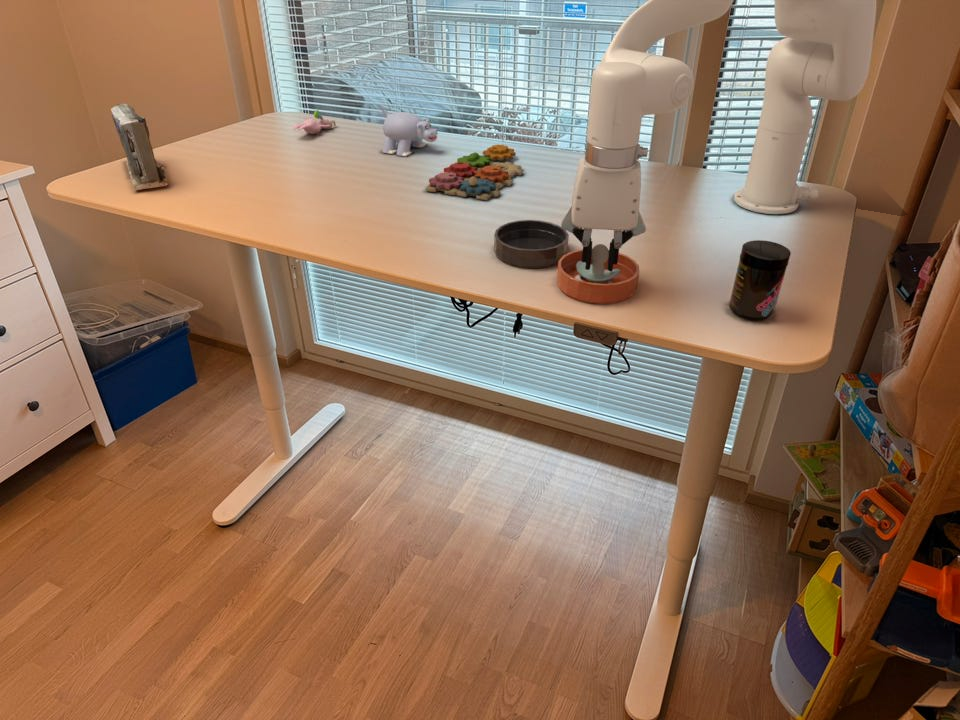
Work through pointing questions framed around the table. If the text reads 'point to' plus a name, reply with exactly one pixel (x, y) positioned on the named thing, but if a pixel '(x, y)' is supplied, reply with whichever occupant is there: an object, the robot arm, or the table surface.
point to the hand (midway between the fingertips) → (598, 265)
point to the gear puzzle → (477, 174)
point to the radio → (137, 148)
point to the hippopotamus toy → (405, 132)
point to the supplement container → (758, 279)
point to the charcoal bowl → (530, 243)
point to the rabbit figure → (314, 124)
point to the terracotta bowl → (597, 292)
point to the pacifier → (597, 267)
